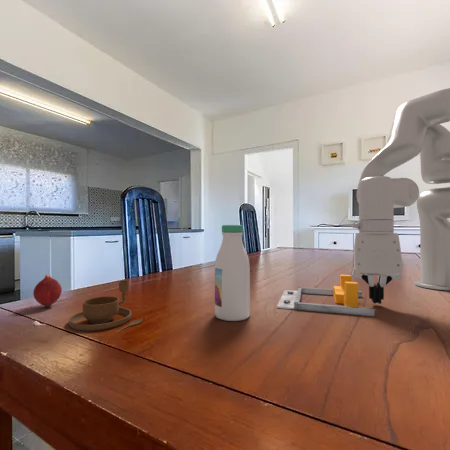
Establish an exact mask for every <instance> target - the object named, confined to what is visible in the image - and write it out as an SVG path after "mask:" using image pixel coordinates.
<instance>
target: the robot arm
mask: <svg viewBox="0 0 450 450" xmlns="http://www.w3.org/2000/svg"><path fill="white" fill-rule="evenodd" d="M448 122H450V87H447V88H445V89H444V88H443V89H440V90H437V91H434V92H430V93H429V94H428V93H427V94H425V95H422V96H419V97H415V98H413V99H410V100H408V101H405V102H404V103H402V104H401V105H400V106H399V107H398V108H397V110H396V112H395V114H394V117H393V121H392V124H391V128H390V132H389V136H388V138H387V143H386V144H385V146H384V147H382V149H381V150H379V152H378V153H376V155H374V157H372V159H371V160H370V161H369V162H368V163H367V164H366V165H365V166H364V168H363V170H362V171H361V174H360V178H359V180H358V181H359V182H358V183H357V184H358V185H357V188H356V201H357V203H358V221H357V222H353V223H352V229H356V230H358V232H356V233H355V238H354V244H353V254H352V258H353V259H352V267H353V269H352V273H351V276H352V277H353V278H357V279H361V280H363V281H364V282H365V283H366V284H367V285H368V298H369V299H370V300H371V302H372V303H373V304H381V305H382V300H384V299H385V297H384V296H385V291H384V290H385V289H384V288H385V287H386V286H387V285H388V284H389V283H390V282H391V281H397V280H401V279H402V278H403V277H402V271H403V262H402V260H403V259H402V250H401V249H402V248H401V242H400V237H399V234H398V233H396V232H394V231H395V228H394V224H395V222H394V221H395V219H394V217H395V215H394V214H395V213H394V211H395V210H394V209H396V208H397V209H398V208H407V207H411V206H412V205H413V204H416V209H417V213H418V219H419V226H420V227H419V229H420V231H419V232H420V233H419V234H420V235H419V236H420V240H419V241H420V251H419V252H420V253H419V254H420V259H419V260H420V263H419V264H420V279H416V280H415V281H414V285H415V286H418V287H421V288H426V289H430V290H431V289H432V290H438V291H439V290H440V291H448V292H449V291H450V221H449V220H448V219H450V186H449V187H448V186H447V187H439V188H438V187H436V188H431V189H427V190H424V191H422V192H420V188H419V186H418V185H417V183H416V181H414V180H412V179H411V178H409V177H408V178H407V177H397V178H396V177H395V178H392V177H390V176H387V175H386V174H388V173H389V172H390V171H393V169H396V168H398V167H400V166H401V165H404V164H406V163H407V162H409V161H411V160H413V159H414V158H416V157H418V156H419V160H420V161H419V162H420V173H421V174H420V175H421V180H422V181H423V182H424V183H425V184H428V185H439V184H441V185H442V184H450V130H449V129H448V128H446V127H445V126H443V125H441V124H445V123H448ZM375 275H376V276H378V279H377V283H375V278H374V276H375Z"/></svg>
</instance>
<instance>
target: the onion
mask: <svg viewBox="0 0 450 450" xmlns="http://www.w3.org/2000/svg"><path fill="white" fill-rule="evenodd" d="M32 295H33V298H34V299H35V301H36V302H37V303H38V304H40V305H41V306H44V307H45V308H49V307H51V306H52V305H53V304H55V303H56V302H57V301H58V300H59V299H60V297H61V296H62V285H61V284H60V282H59V281H57V280H56V279H55V278H53V277H51V275H50V274H48V273H46V274H45V275H44V278H43V279H42V280H40V281H38V283H37V284H36V285H35V287H34V289H33V293H32Z"/></svg>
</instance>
